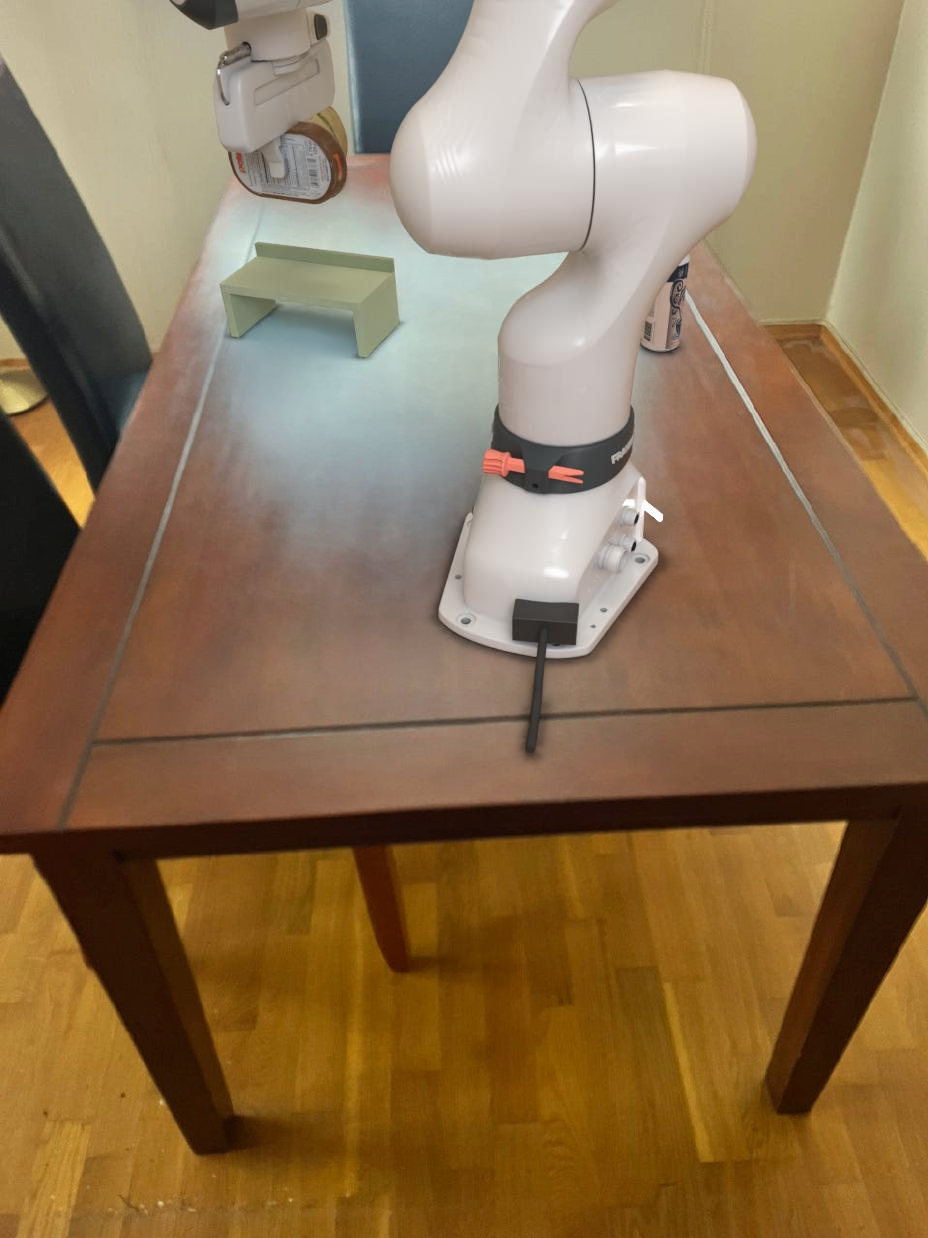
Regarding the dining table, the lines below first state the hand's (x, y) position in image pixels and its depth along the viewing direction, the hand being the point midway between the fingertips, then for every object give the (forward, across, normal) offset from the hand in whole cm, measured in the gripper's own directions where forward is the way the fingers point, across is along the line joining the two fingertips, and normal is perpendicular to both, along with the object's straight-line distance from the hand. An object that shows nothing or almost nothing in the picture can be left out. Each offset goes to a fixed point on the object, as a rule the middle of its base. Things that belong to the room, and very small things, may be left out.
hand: (289, 170), depth 108 cm
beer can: (+20, +10, -44) cm, 49 cm away
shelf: (+20, +1, 0) cm, 20 cm away
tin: (+3, 0, 0) cm, 3 cm away
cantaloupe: (+21, +51, +28) cm, 62 cm away
